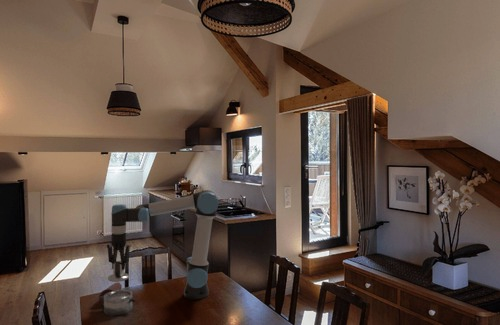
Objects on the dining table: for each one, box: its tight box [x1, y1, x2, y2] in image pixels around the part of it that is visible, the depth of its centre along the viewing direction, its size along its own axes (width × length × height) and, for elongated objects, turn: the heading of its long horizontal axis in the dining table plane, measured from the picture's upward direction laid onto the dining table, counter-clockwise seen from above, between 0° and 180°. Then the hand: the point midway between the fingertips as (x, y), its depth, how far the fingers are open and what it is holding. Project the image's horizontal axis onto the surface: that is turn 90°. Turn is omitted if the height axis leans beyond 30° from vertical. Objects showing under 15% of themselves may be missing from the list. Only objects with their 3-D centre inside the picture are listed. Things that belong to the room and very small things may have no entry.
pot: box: [98, 289, 138, 317], centre depth 190 cm, size 21×15×8 cm
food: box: [98, 281, 123, 306], centre depth 206 cm, size 21×9×9 cm, turn 11°
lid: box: [107, 260, 130, 283], centre depth 190 cm, size 11×11×9 cm
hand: (118, 275), depth 190 cm, fingers closed on lid, 3 cm apart
